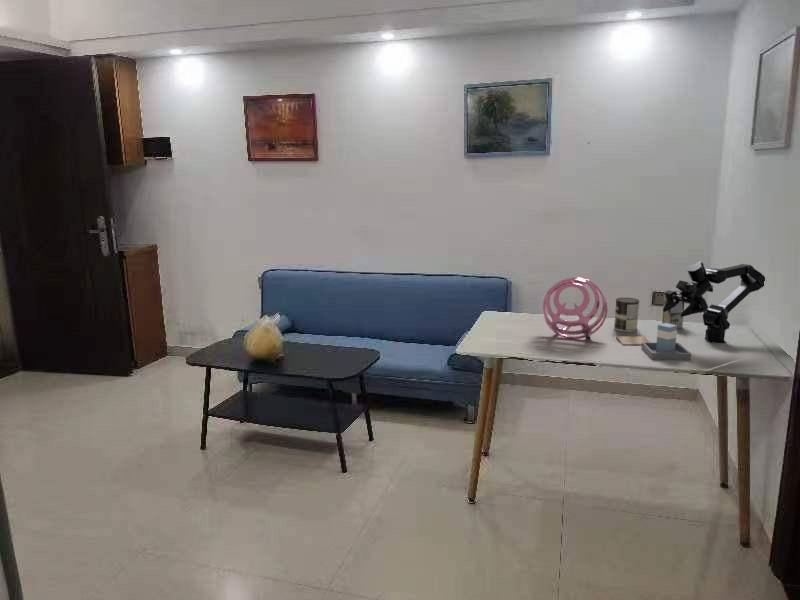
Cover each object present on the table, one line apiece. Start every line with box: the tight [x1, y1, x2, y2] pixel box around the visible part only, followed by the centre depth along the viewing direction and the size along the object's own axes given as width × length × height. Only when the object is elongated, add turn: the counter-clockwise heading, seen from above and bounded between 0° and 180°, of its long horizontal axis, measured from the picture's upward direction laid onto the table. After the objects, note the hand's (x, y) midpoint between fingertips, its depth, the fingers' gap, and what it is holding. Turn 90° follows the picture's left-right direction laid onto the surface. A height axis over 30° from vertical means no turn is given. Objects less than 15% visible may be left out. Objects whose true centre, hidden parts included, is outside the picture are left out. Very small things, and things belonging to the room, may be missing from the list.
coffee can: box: [613, 297, 640, 333], centre depth 273 cm, size 10×10×14 cm
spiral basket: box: [542, 277, 608, 340], centre depth 263 cm, size 28×28×27 cm
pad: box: [615, 335, 650, 347], centre depth 253 cm, size 12×12×1 cm
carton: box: [656, 323, 678, 353], centre depth 235 cm, size 5×5×12 cm
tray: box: [641, 341, 692, 361], centre depth 236 cm, size 15×15×3 cm
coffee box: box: [661, 290, 685, 329], centre depth 277 cm, size 9×6×16 cm
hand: (672, 313), depth 240 cm, fingers open, 9 cm apart
